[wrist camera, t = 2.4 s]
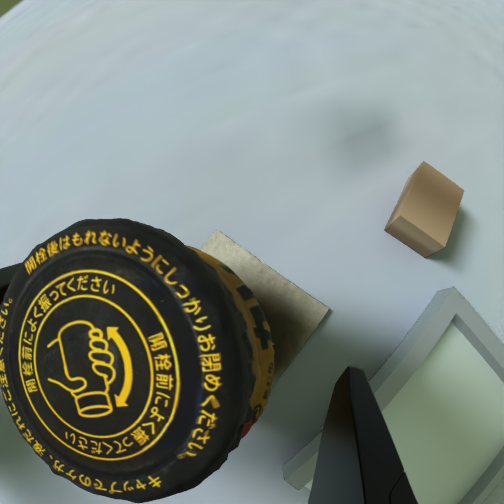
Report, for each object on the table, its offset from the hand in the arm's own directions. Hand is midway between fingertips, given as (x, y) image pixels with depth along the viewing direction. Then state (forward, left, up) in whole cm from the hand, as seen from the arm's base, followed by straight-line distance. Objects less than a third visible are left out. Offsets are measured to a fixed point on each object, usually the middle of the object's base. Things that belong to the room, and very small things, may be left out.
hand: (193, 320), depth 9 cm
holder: (-9, -11, -7) cm, 16 cm away
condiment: (0, 0, -8) cm, 8 cm away
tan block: (+5, -12, -7) cm, 15 cm away
